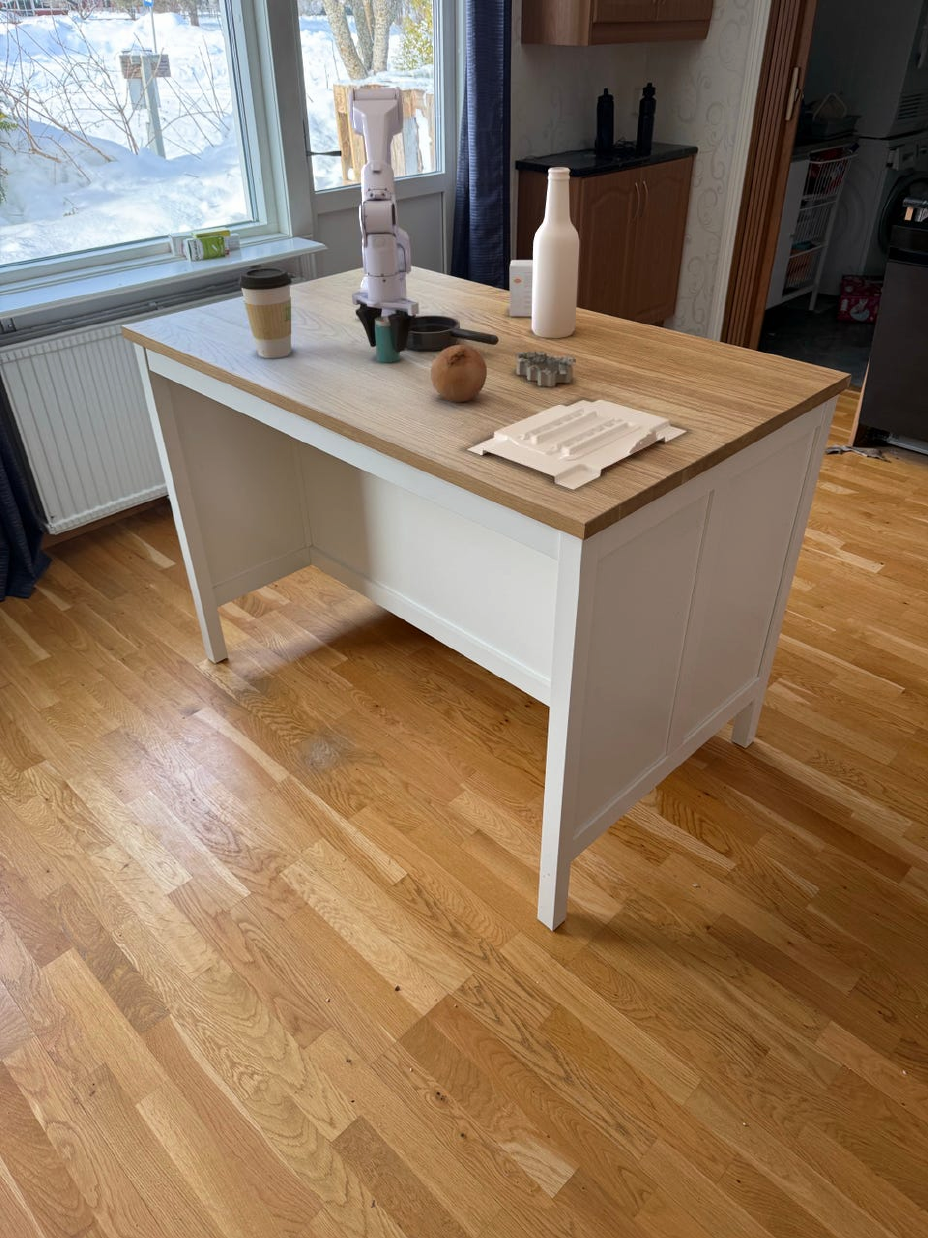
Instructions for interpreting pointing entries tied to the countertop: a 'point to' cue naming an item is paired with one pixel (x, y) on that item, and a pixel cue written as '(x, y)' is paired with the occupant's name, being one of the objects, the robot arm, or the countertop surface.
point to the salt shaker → (385, 341)
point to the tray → (578, 439)
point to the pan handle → (474, 336)
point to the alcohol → (555, 263)
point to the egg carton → (545, 368)
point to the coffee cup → (268, 309)
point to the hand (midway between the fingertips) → (387, 348)
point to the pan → (432, 333)
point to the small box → (521, 288)
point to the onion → (458, 373)
